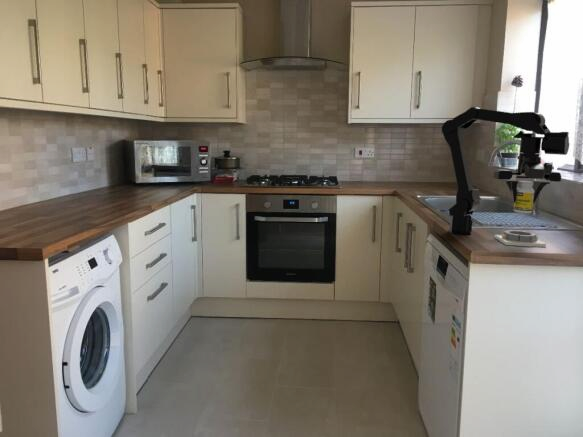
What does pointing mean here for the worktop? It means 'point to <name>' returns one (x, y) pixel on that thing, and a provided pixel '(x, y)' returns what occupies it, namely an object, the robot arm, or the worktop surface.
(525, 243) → the socket base
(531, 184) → the supplement bottle
